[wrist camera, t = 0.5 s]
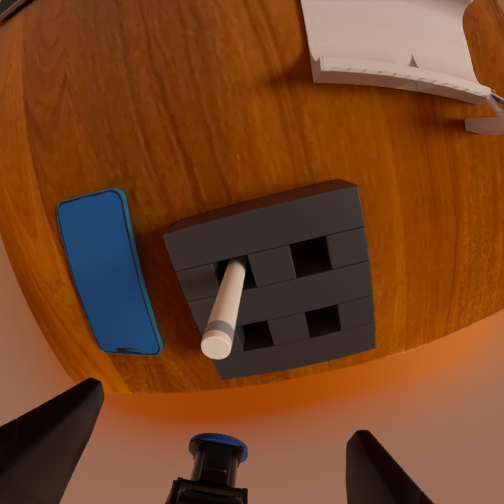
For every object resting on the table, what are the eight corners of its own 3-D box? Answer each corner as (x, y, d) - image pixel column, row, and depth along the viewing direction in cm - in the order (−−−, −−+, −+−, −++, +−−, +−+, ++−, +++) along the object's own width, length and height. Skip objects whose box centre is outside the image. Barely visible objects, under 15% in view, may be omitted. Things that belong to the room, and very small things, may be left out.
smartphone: (121, 185, 19) (164, 356, 23) (127, 184, 20) (167, 350, 24) (53, 203, 19) (100, 352, 24) (60, 201, 20) (104, 347, 25)
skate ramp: (452, 4, 12) (480, -14, 7) (479, 134, 16) (519, 135, 11) (294, -27, 13) (299, -63, 8) (317, 118, 17) (333, 106, 13)
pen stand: (361, 319, 22) (375, 348, 19) (227, 348, 24) (221, 379, 20) (341, 178, 19) (358, 184, 15) (180, 219, 20) (161, 235, 17)
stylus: (247, 262, 21) (229, 362, 11) (231, 259, 21) (198, 356, 11) (250, 246, 21) (233, 339, 10) (233, 243, 21) (200, 333, 10)
